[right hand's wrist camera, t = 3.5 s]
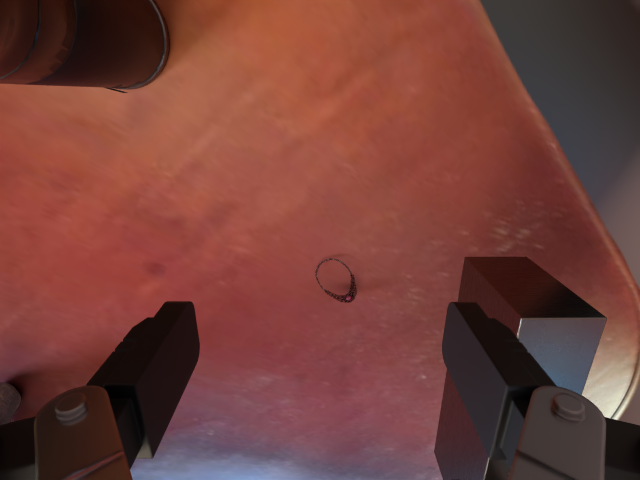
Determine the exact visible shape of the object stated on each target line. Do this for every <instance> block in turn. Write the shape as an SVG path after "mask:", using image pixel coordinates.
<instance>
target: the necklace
mask: <svg viewBox="0 0 640 480" xmlns="http://www.w3.org/2000/svg"><path fill="white" fill-rule="evenodd" d="M327 260H328V259H327ZM329 260H331V259H329ZM336 260H337V259H336ZM324 261H325V260H324ZM338 261H339V260H338ZM340 262H341V261H340ZM342 263H343V262H342ZM321 264H322V262H321ZM321 264H320V265H321ZM343 265H344V263H343ZM318 266H319V265H318ZM318 268H319V267H317V270H318ZM346 268H348V267H347V266H346ZM317 270H316V279H317V280H318V278H317ZM348 270H349V272H350V274H351V275H350V276H351V277H353V276H354V275H353V276H352V273H351V271H350V269H349V268H348ZM351 280H352V281H353V280H354V277H353V278H352V279H351ZM352 281H351V282H352ZM354 281H355V280H354ZM318 282H319V281H318ZM319 284H320V283H319ZM351 284H352V285H353V286H352V285H351V288H350V289H353V287H354V286H356V285H354V284H356V283H355V282H352V283H351ZM320 287H321V284H320ZM355 288H356V287H355ZM322 289H323V288H322ZM350 289H349V290H350ZM324 290H325V289H324ZM353 291H354V290H353ZM353 291H352V290H351V291H349V292H351V293H354V294H352V295H351V293H350V295H348V294H346V296H347V295H348V296H347V297H346V296H345V297H344V296H342V295H341V298H345V299H341V301H340V302H343V301H342V300H344V301H345V300H347V301H348V302H351V301H353V298H354V297H355V296H356V295H355V294H356V293H355V292H356V291H355V292H353ZM328 292H329V291H328ZM325 293H326V294H327V295H329V293H331V292H329V293H327V290H326V291H325ZM331 294H332V293H331ZM353 295H354V297H353ZM329 296H331V297H332V296H333V298H334V299H339V300H340V298H336V297H338V296H336V294H335V297H334V295H333V294H332V295H329ZM339 296H340V295H339ZM351 297H352V298H351ZM351 299H352V300H351ZM354 299H355V298H354ZM350 300H351V301H350ZM347 301H345V302H347Z"/></svg>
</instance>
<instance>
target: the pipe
mask: <svg viewBox="0 0 640 480" xmlns="http://www.w3.org/2000/svg"><path fill="white" fill-rule="evenodd" d="M20 403H21V396H20V394H19V392H18V391H17V390H16V388H15V387H14V386H12V385H11V384H8V383H0V425H2V424H7V423H10V419H11V417H12V416H13V414H14V413H15V412H16V410H17V409H18V407H19V405H20Z"/></svg>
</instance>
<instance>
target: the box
mask: <svg viewBox="0 0 640 480" xmlns="http://www.w3.org/2000/svg"><path fill="white" fill-rule="evenodd" d="M458 302H476V303H477V304H478V305H479V306H480V307H481V309H482V310H483V311H484V313H485V314H486V315H487V317H488V318H495V319H497V320H498V321H500V322H501V323H503V324H504V325H505V326H507V327H508V328H510V329H511V331H512V332H513V333H514V334H515V335H516V337H517V338H518V339H519V342H521V343H522V344H523V345H524V346H525V348H526V349H527V352H528V353H530V354H531V355H532V356H533V357H534V359H535V360H536V361H537V362H538V363H539V365H540V366H541V367H542V368H543V370H544V371H545V372H546V373H547V374H548V376H549V377H550V378H551V379H552V381H553V382H554V383H555V384H556V385H557V386H558V387H562V388H566V389H569V390H571V391H574V392H576V393H578V394H580V395H582V392H583V389H584V386H585V383H586V380H587V377H588V374H589V371H590V368H591V365H592V362H593V359H594V356H595V353H596V350H597V347H598V344H599V341H600V338H601V335H602V332H603V329H604V326H605V323H606V320H607V318H606V317H605V316H604V315H602V314H601V313H600V312H598V311H597V310H596V309H594V308H593V307H592V306H590V305H589V304H588V303H587V302H585V301H584V300H583V299H581V298H580V297H579V296H577V295H576V294H575V293H573V292H572V291H571V290H569V289H568V288H567V287H566V286H564V285H563V284H562V283H560V282H559V281H558V280H556V279H555V278H554V277H552V276H551V275H550V274H548V273H547V272H546V271H544V270H543V269H542V268H541V267H539V266H538V265H537V264H535V263H534V262H533V261H531V260H530V259H529V258H527V257H465V258H464V265H463V271H462V278H461V284H460V290H459V297H458ZM434 453H435V456H436V459H437V462H438V465H439V468H440V471H441V474H442V477H443V480H451V479H458V480H508V476H509V473H510V469H511V466H510V464H509V462H508V461H507V460H490V459H489V457H488V455H487V453H486V450H485V448H484V446H483V444H482V442H481V440H480V438H479V436H478V433H477V431H476V429H475V427H474V425H473V423H472V421H471V418H470V416H469V414H468V412H467V410H466V408H465V406H464V403H463V401H462V399H461V397H460V395H459V393H458V391H457V389H456V386H455V384H454V382H453V380H452V378H451V376H450V374H449V371H448V369H447V373H446V379H445V386H444V392H443V399H442V405H441V411H440V418H439V424H438V430H437V437H436V443H435V449H434Z"/></svg>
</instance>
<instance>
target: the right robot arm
mask: <svg viewBox="0 0 640 480" xmlns="http://www.w3.org/2000/svg"><path fill="white" fill-rule="evenodd" d="M169 47H170V41H169V32H168V28H167V24H166V21H165V18H164V16H163V14H162V12H161V10H160V8H159V7H158V5H157V4H156V2H155V1H154V0H0V84H25V85H52V86H79V87H103V88H107V89H111V90H114V91H118V92H122V93H127V92H123V91H120V90H116V89H137V88H141V87H144V86H146V85H148V84H150V83H151V82H153V81H154V80H155V79H156V78H157V77H158V76H159V75H160V73H161V72H162V71H163V69H164V67H165V65H166V62H167V59H168V55H169ZM112 88H116V89H112ZM199 350H200V343H199V336H198V329H197V322H196V316H195V309H194V305H193V303H192V302H190V301H167V302H165V303H164V304H163V306H162V307H161V308H160V310H159V311H158V312H157V314H156V315H155V316H154V318H146V319H145V320H143V321H142V322H140V323H139V324H137V325H136V326H134V327H133V328H132V329H131V330H130V331H129V333H128V334H127V335H126V336H125V338H124V339H123V342H120V344H119V345H118V346H117V347H116V349H115V352H112V354H111V355H110V356H109V357H108V358H107V360H106V361H105V362H104V363H103V365H102V366H101V367H100V368H99V370H98V371H97V372H96V373H95V375H94V376H93V377H92V378H91V379H90V381H89V382H88V383H87V384H86V386H82V387H78V388H74V389H71V390H69V391H66V392H64V393H62V394H60V395H58V396H57V397H55V398H53V399H52V400H51V401H49V402H48V403H47V404H46V405H45V406H44V407H43V408H42V409H41V410H40V411H39V412H38V414H37V416H36V417H32V418H28V419H24V420H19V421H15V422H11V423H7V424H2V425H0V480H132V476H131V473H130V469H131V467H132V465H133V463H134V461H135V459H136V458H153V457H154V455H155V453H156V451H157V448H158V446H159V444H160V442H161V440H162V438H163V435H164V433H165V431H166V429H167V427H168V425H169V422H170V420H171V418H172V416H173V414H174V412H175V409H176V407H177V405H178V403H179V401H180V399H181V396H182V394H183V392H184V390H185V388H186V386H187V383H188V381H189V379H190V377H191V375H192V373H193V370H194V368H195V366H196V364H197V361H198V357H199ZM442 353H443V359H444V362H445V365H446V367H447V369H448V371H449V374H450V376H451V378H452V380H453V382H454V384H455V386H456V389H457V391H458V393H459V395H460V397H461V399H462V401H463V403H464V406H465V408H466V410H467V412H468V414H469V416H470V418H471V421H472V423H473V425H474V427H475V429H476V431H477V433H478V436H479V438H480V440H481V442H482V444H483V446H484V448H485V450H486V453H487V455H488V457H489V459H490V460H507V461H508V462H509V464H510V466H511V469H510V473H509V476H508V480H640V426H639V425H635V424H631V423H627V422H622V421H618V420H614V419H610V418H606V417H604V416H603V414H602V412H601V411H600V410H599V409H598V408H597V407H596V406H595V405H594V404H593V403H592V402H591V401H589V400H588V399H587V398H585V397H583V396H582V395H580V394H578V393H576V392H574V391H571V390H569V389H566V388H562V387H558V386H557V385H556V384H555V383H554V382H553V381H552V379H551V378H550V377H549V376H548V374H547V373H546V372H545V371H544V370H543V368H542V367H541V366H540V365H539V363H538V362H537V361H536V360H535V359H534V357H533V356H532V355H531V354H530V353H528V352H527V349H526V348H525V346H524V345H523V344H522V343H521V342H519V339H518V338H517V337H516V335H515V334H514V333H513V332H512V331H511V329H510V328H508V327H507V326H505V325H504V324H503V323H501V322H500V321H498V320H497V319H495V318H488V317H487V315H486V314H485V313H484V311H483V310H482V309H481V307H480V306H479V305H478V304H477V303H476V302H451V303H450V304H449V305H448V309H447V316H446V322H445V329H444V336H443V342H442Z"/></svg>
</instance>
